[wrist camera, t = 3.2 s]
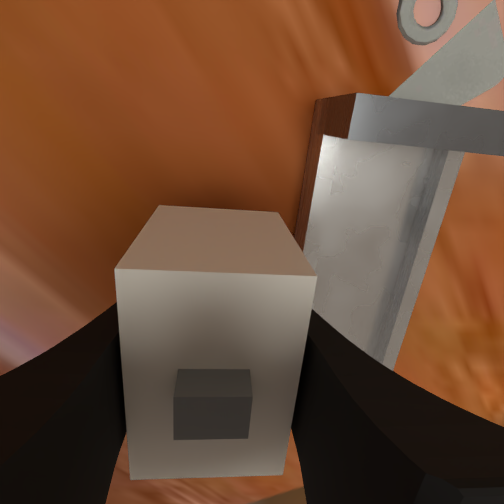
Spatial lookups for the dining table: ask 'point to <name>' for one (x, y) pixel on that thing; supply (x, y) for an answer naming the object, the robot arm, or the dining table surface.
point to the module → (211, 342)
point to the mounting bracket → (453, 55)
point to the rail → (381, 205)
